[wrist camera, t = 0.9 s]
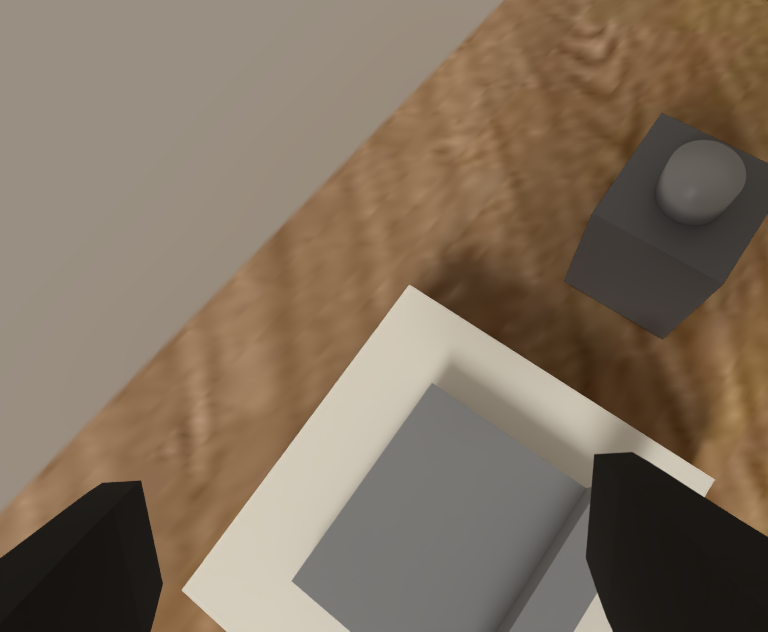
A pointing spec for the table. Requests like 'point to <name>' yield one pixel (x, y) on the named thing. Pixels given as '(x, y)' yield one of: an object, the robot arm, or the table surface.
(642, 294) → the plug
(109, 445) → the table surface
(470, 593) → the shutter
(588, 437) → the socket plate
